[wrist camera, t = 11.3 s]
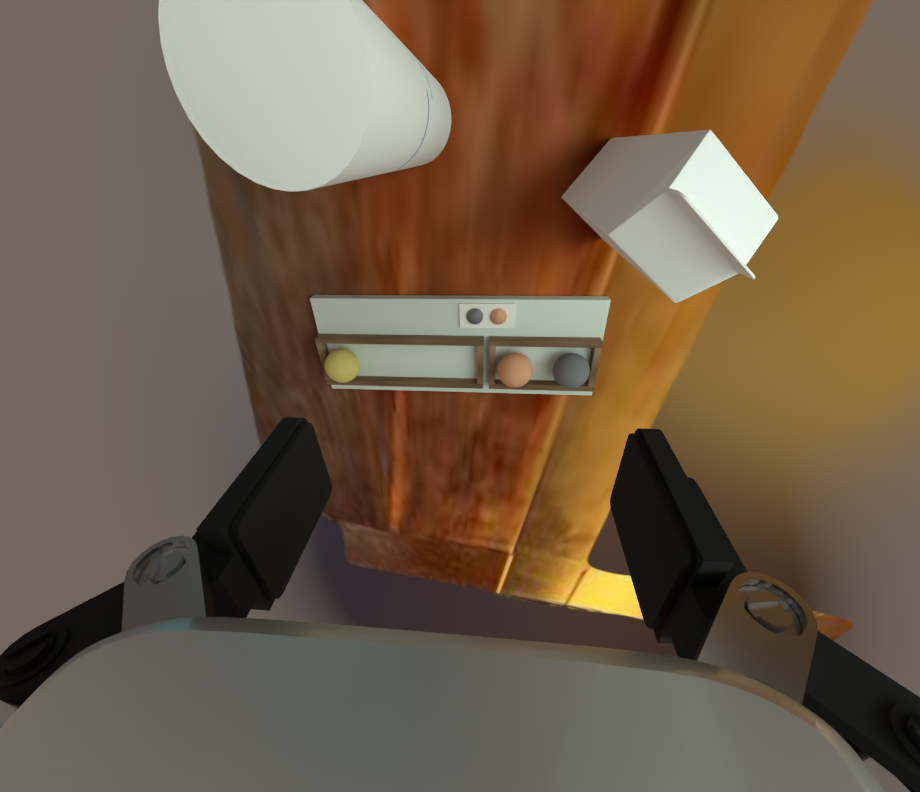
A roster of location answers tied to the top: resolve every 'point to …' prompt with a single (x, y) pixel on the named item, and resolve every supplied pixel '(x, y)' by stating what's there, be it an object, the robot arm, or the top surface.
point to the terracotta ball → (515, 369)
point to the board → (458, 333)
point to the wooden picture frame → (405, 340)
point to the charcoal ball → (571, 370)
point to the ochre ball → (342, 365)
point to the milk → (674, 209)
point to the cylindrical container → (302, 89)
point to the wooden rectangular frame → (546, 342)
